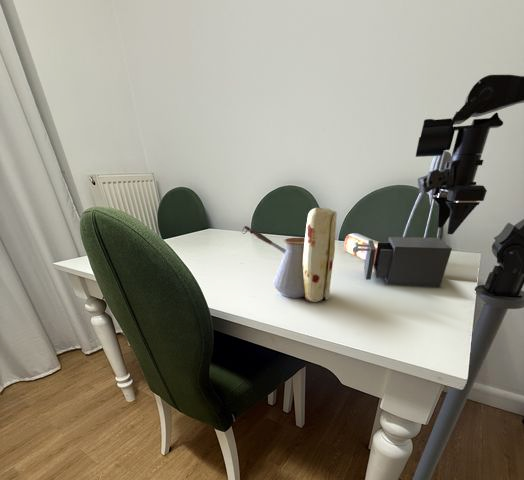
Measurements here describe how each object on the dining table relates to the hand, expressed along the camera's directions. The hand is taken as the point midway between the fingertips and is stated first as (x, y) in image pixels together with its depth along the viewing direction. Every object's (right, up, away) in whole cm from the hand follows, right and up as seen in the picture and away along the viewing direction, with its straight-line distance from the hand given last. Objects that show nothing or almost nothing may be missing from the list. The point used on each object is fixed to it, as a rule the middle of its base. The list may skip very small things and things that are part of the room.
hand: (444, 230), depth 72 cm
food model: (-32, -17, -1) cm, 37 cm away
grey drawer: (-12, -8, +11) cm, 18 cm away
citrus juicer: (+6, -2, +22) cm, 23 cm away
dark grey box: (-4, -10, +10) cm, 14 cm away
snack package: (-10, +2, +29) cm, 30 cm away
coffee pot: (-41, -14, +5) cm, 43 cm away
